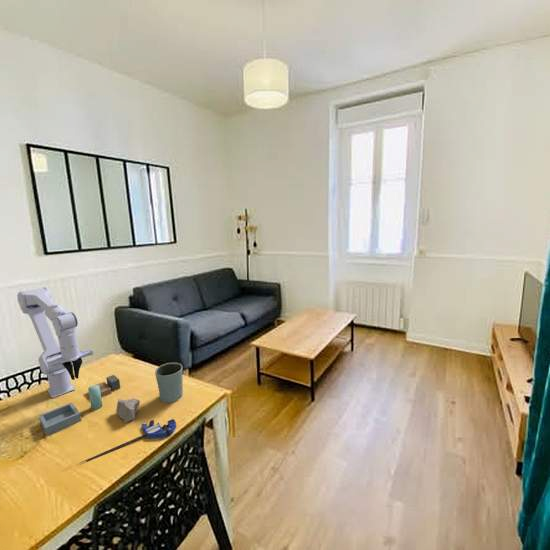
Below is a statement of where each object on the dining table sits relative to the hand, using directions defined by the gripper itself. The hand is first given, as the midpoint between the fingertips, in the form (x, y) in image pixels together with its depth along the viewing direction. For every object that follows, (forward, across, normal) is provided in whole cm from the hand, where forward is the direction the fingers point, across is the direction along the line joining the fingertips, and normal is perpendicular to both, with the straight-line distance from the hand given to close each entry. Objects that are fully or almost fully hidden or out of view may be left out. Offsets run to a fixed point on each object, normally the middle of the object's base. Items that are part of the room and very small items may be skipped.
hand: (74, 378), depth 117 cm
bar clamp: (+11, +2, -37) cm, 39 cm away
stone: (+10, +10, -24) cm, 28 cm away
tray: (+10, -8, -9) cm, 16 cm away
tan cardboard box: (+10, +8, 0) cm, 13 cm away
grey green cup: (+10, +26, -26) cm, 37 cm away
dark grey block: (+10, +13, 0) cm, 16 cm away
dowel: (+10, +4, -10) cm, 14 cm away
